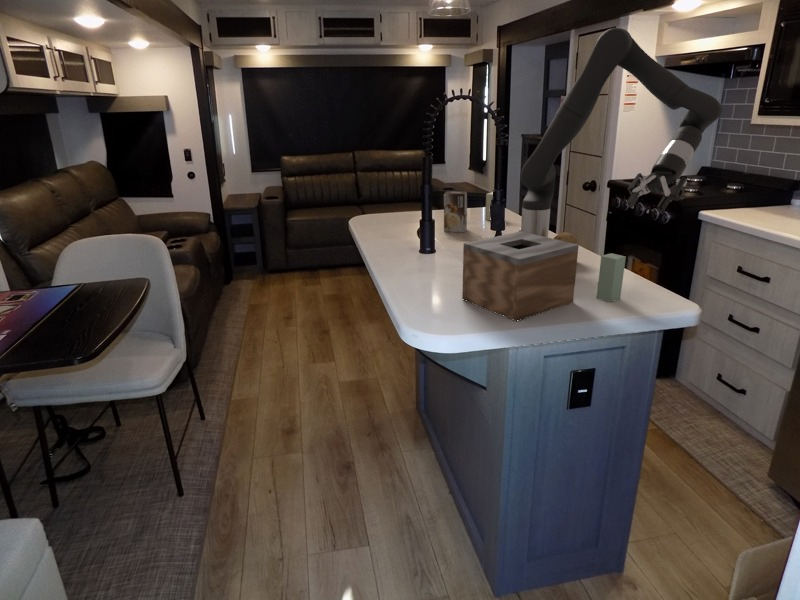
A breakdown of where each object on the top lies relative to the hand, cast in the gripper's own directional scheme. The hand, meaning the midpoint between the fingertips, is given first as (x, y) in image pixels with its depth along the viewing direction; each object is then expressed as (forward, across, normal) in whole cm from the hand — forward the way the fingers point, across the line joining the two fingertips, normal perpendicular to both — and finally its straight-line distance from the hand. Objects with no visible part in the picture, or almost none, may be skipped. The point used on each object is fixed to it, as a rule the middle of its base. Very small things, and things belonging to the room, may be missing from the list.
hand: (643, 208), depth 146 cm
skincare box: (-11, -96, +44) cm, 106 cm away
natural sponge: (+11, -31, +22) cm, 40 cm away
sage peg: (+25, 0, +8) cm, 26 cm away
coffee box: (+8, -90, +24) cm, 94 cm away
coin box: (+40, -14, -7) cm, 42 cm away
